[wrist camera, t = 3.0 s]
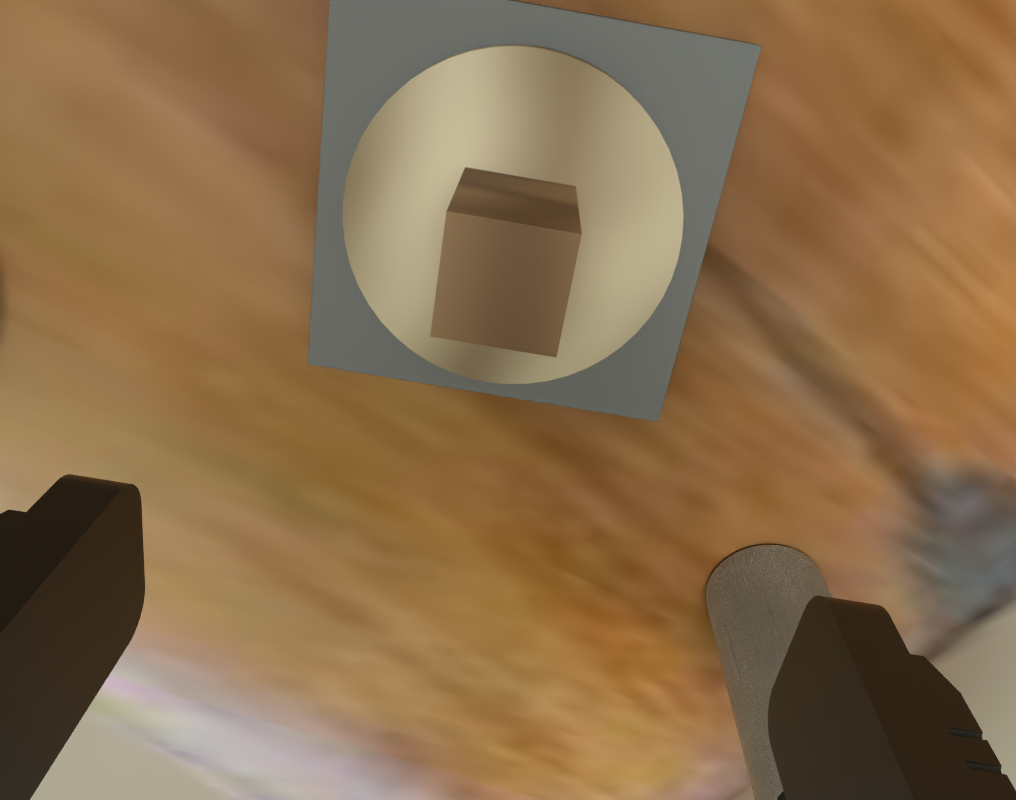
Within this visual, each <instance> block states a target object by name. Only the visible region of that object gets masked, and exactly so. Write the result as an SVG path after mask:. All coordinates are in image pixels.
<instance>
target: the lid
mask: <svg viewBox="0 0 1016 800" xmlns="http://www.w3.org/2000/svg"><path fill="white" fill-rule="evenodd" d="M683 217H684V215H683V202H682V192H681V187H680V182H679V178H678V173H677V170H676V167H675V164H674V161H673V159H672V156H671V153H670V150H669V148H668V146H667V144H666V142H665V141H664V139H663V137H662V135H661V133H660V131H659V129H658V128H657V126H656V125H655V123H654V122H653V121H652V119H651V118H650V116H649V115H648V114H647V112H646V111H645V109H644V108H643V107H642V105H641V104H640V103H639V102H638V101H637V100H636V99H635V98H634V96H633V95H632V94H631V93H630V92H629V91H628V90H627V89H626V88H625V87H624V86H623V85H621V84H620V83H619V82H617V81H616V80H615V79H614V78H612V77H611V76H610V75H609V74H607V73H606V72H604V71H603V70H601V69H599V68H597V67H596V66H594V65H592V64H591V63H589V62H587V61H585V60H583V59H580V58H578V57H575V56H573V55H570V54H568V53H565V52H562V51H558V50H554V49H550V48H546V47H542V46H533V45H524V44H505V45H492V46H486V47H481V48H475V49H471V50H468V51H465V52H462V53H459V54H456V55H453V56H450V57H448V58H446V59H444V60H442V61H440V62H438V63H436V64H434V65H432V66H430V67H428V68H427V69H426V70H424V71H423V72H421V73H420V74H418V75H417V76H415V77H414V78H412V79H411V80H410V81H408V82H407V83H406V84H405V85H404V86H403V87H401V88H400V89H399V90H398V91H397V92H396V93H395V94H394V95H393V96H392V97H391V98H389V99H388V100H387V102H386V103H385V104H384V105H383V106H382V108H381V109H380V110H379V111H378V113H377V114H376V115H375V116H374V117H373V119H372V120H371V122H370V124H369V125H368V127H367V129H366V130H365V132H364V133H363V135H362V137H361V139H360V141H359V143H358V146H357V148H356V150H355V152H354V155H353V157H352V160H351V163H350V167H349V170H348V174H347V177H346V182H345V189H344V196H343V232H344V240H345V247H346V251H347V254H348V258H349V262H350V266H351V269H352V271H353V274H354V276H355V279H356V281H357V284H358V286H359V288H360V290H361V292H362V293H363V295H364V297H365V299H366V301H367V302H368V304H369V306H370V307H371V308H372V310H373V311H374V313H375V314H376V315H377V317H378V318H379V319H380V321H381V322H382V323H383V324H384V325H385V326H386V327H387V328H388V330H389V331H390V332H391V333H392V334H393V335H394V336H395V337H396V338H397V339H398V340H400V341H401V342H402V343H403V344H404V345H406V346H407V347H408V348H409V349H410V350H412V351H413V352H415V353H416V354H418V355H419V356H421V357H422V358H424V359H426V360H427V361H429V362H431V363H433V364H435V365H437V366H439V367H441V368H443V369H445V370H447V371H450V372H452V373H455V374H458V375H461V376H464V377H467V378H471V379H475V380H480V381H484V382H491V383H501V384H529V383H537V382H544V381H550V380H554V379H557V378H561V377H565V376H568V375H571V374H574V373H576V372H579V371H581V370H584V369H586V368H588V367H590V366H592V365H594V364H596V363H598V362H599V361H601V360H603V359H605V358H606V357H608V356H609V355H611V354H612V353H613V352H615V351H616V350H618V349H619V348H620V347H622V346H623V345H624V344H625V343H626V342H627V341H628V340H629V339H631V338H632V337H633V336H634V335H635V334H636V333H637V332H638V331H639V330H640V328H641V327H642V326H643V325H644V324H645V323H646V321H647V320H648V319H649V318H650V317H651V315H652V314H653V312H654V311H655V309H656V308H657V306H658V304H659V303H660V301H661V300H662V298H663V296H664V294H665V292H666V290H667V288H668V286H669V284H670V282H671V279H672V276H673V273H674V270H675V267H676V264H677V261H678V258H679V252H680V247H681V242H682V234H683Z"/></svg>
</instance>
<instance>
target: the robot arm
mask: <svg viewBox="0 0 1016 800" xmlns="http://www.w3.org/2000/svg"><path fill="white" fill-rule="evenodd" d="M144 595H145V576H144V553H143V530H142V507H141V496H140V492H139V490H138V488H137V487H136V486H135V485H133V484H127V483H121V482H115V481H109V480H102V479H96V478H90V477H84V476H77V475H70V474H68V475H65V476H63V477H61V478H60V479H59V480H58V481H56V483H55V484H54V485H53V486H52V487H51V488H50V489H49V490H48V491H47V492H46V493H45V494H44V495H43V496H42V497H41V498H40V499H39V500H38V501H37V502H36V503H35V504H34V505H33V506H32V507H31V508H30V509H29V510H28V511H27V512H21V511H14V510H7V511H5V512H3V513H1V514H0V800H30V799H31V797H32V795H33V794H34V792H35V790H36V789H37V788H38V786H39V784H40V783H41V781H42V780H43V778H44V777H45V775H46V773H47V772H48V770H49V769H50V767H51V765H52V764H53V762H54V761H55V759H56V758H57V756H58V754H59V753H60V751H61V750H62V748H63V747H64V745H65V743H66V742H67V740H68V739H69V737H70V736H71V734H72V732H73V731H74V729H75V728H76V726H77V725H78V723H79V721H80V720H81V718H82V717H83V715H84V713H85V712H86V710H87V709H88V707H89V706H90V704H91V702H92V701H93V699H94V698H95V696H96V695H97V693H98V691H99V690H100V688H101V687H102V685H103V684H104V682H105V680H106V679H107V677H108V676H109V674H110V673H111V671H112V669H113V668H114V666H115V665H116V663H117V661H118V660H119V658H120V657H121V655H122V654H123V652H124V650H125V649H126V647H127V646H128V644H129V642H130V641H131V639H132V637H133V635H134V633H135V630H136V628H137V625H138V622H139V619H140V616H141V612H142V608H143V603H144ZM982 733H983V732H982V730H981V729H980V727H979V725H978V723H977V722H976V720H975V718H974V716H973V715H972V713H971V711H970V709H969V708H968V706H967V704H966V702H965V700H964V699H963V697H962V695H961V693H960V692H959V691H958V690H957V689H956V688H955V687H954V686H953V685H952V684H951V683H950V682H949V681H948V680H947V679H946V678H945V677H944V676H943V675H942V674H941V673H940V672H939V671H938V670H937V669H936V668H935V667H934V666H933V665H932V664H931V663H930V662H929V661H928V660H927V659H926V658H925V657H924V656H919V655H912V654H910V653H909V652H908V650H907V648H906V646H905V644H904V642H903V640H902V638H901V636H900V634H899V632H898V631H897V629H896V627H895V625H894V623H893V621H892V619H891V617H890V615H889V614H888V612H887V611H886V610H885V609H884V608H883V607H882V606H880V605H874V604H868V603H862V602H855V601H849V600H843V599H837V598H830V597H824V596H815V597H813V598H812V599H811V600H810V601H809V602H808V604H807V605H806V607H805V609H804V611H803V614H802V616H801V619H800V621H799V624H798V626H797V629H796V631H795V634H794V636H793V639H792V641H791V643H790V646H789V648H788V651H787V653H786V656H785V658H784V661H783V663H782V666H781V668H780V670H779V673H778V675H777V678H776V680H775V683H774V685H773V688H772V691H771V695H770V700H769V707H768V734H769V740H770V744H771V748H772V752H773V755H774V759H775V762H776V766H777V770H778V773H779V777H780V780H781V784H782V787H783V791H784V794H785V798H786V800H1016V791H1015V789H1014V787H1013V785H1012V784H1011V782H1010V780H1009V778H1008V776H1007V775H1005V774H1002V773H1001V764H1000V762H999V761H998V759H997V757H996V755H995V753H994V752H993V750H992V748H991V746H990V745H989V743H988V741H987V740H982Z"/></svg>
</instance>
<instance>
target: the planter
mask: <svg viewBox="0 0 1016 800" xmlns="http://www.w3.org/2000/svg"><path fill="white" fill-rule="evenodd" d="M815 596H824V597H830V598H832V595H831V593H830V591H829V589H828V587H827V584H826V582H825V580H824V578H823V576H822V574H821V573H820V571H819V569H818V567H817V566H816V565H815V563H814V562H813V561H812V560H811V559H810V558H809V557H808V556H806V555H805V554H803V553H801V552H800V551H798V550H795V549H793V548H789V547H786V546H780V545H759V546H753V547H750V548H746V549H743V550H741V551H738V552H736V553H735V554H733V555H731V556H730V557H728V558H727V559H725V560H724V561H723V562H722V563H721V564H720V565H719V566H718V567H717V568H716V569H715V570H714V572H713V573H712V575H711V576H710V578H709V581H708V583H707V587H706V603H707V609H708V614H709V618H710V622H711V626H712V630H713V634H714V638H715V642H716V646H717V650H718V654H719V658H720V662H721V666H722V670H723V674H724V678H725V682H726V686H727V690H728V694H729V698H730V702H731V706H732V710H733V714H734V718H735V722H736V726H737V730H738V734H739V738H740V742H741V746H742V750H743V754H744V758H745V762H746V766H747V770H748V774H749V778H750V782H751V786H752V790H753V794H754V798H755V800H786V798H785V794H784V791H783V787H782V784H781V780H780V777H779V773H778V770H777V766H776V762H775V759H774V755H773V752H772V748H771V744H770V740H769V734H768V707H769V700H770V695H771V691H772V688H773V685H774V683H775V680H776V678H777V675H778V673H779V670H780V668H781V666H782V663H783V661H784V658H785V656H786V653H787V651H788V648H789V646H790V643H791V641H792V639H793V636H794V634H795V631H796V629H797V626H798V624H799V621H800V619H801V616H802V614H803V611H804V609H805V607H806V605H807V604H808V602H809V601H810V600H811V599H812V598H813V597H815Z"/></svg>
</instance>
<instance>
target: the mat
mask: <svg viewBox="0 0 1016 800" xmlns="http://www.w3.org/2000/svg"><path fill="white" fill-rule="evenodd" d="M505 44H524V45H533V46H542V47H546V48H550V49H554V50H558V51H562V52H565V53H568V54H570V55H573V56H575V57H578V58H580V59H583V60H585V61H587V62H589V63H591V64H592V65H594V66H596V67H597V68H599V69H601V70H603V71H604V72H606V73H607V74H609V75H610V76H611V77H612V78H614V79H615V80H616V81H617V82H619V83H620V84H621V85H623V86H624V87H625V88H626V89H627V90H628V91H629V92H630V93H631V94H632V95H633V96H634V98H635V99H636V100H637V101H638V102H639V103H640V104H641V105H642V107H643V108H644V109H645V111H646V112H647V114H648V115H649V116H650V118H651V119H652V121H653V122H654V123H655V125H656V126H657V128H658V129H659V131H660V133H661V135H662V137H663V139H664V141H665V142H666V144H667V146H668V148H669V150H670V153H671V156H672V159H673V161H674V164H675V167H676V170H677V173H678V178H679V182H680V187H681V192H682V202H683V215H684V217H683V234H682V242H681V247H680V252H679V258H678V261H677V264H676V267H675V270H674V273H673V276H672V279H671V282H670V284H669V286H668V288H667V290H666V292H665V294H664V296H663V298H662V300H661V301H660V303H659V304H658V306H657V308H656V309H655V311H654V312H653V314H652V315H651V317H650V318H649V319H648V320H647V321H646V323H645V324H644V325H643V326H642V327H641V328H640V330H639V331H638V332H637V333H636V334H635V335H634V336H633V337H632V338H631V339H629V340H628V341H627V342H626V343H625V344H624V345H623V346H622V347H620V348H619V349H618V350H616V351H615V352H613V353H612V354H611V355H609V356H608V357H606V358H605V359H603V360H601V361H599V362H598V363H596V364H594V365H592V366H590V367H588V368H586V369H584V370H581V371H579V372H576V373H574V374H571V375H568V376H565V377H561V378H557V379H554V380H550V381H544V382H537V383H529V384H501V383H491V382H484V381H480V380H475V379H471V378H467V377H464V376H461V375H458V374H455V373H452V372H450V371H447V370H445V369H443V368H441V367H439V366H437V365H435V364H433V363H431V362H429V361H427V360H426V359H424V358H422V357H421V356H419V355H418V354H416V353H415V352H413V351H412V350H410V349H409V348H408V347H407V346H406V345H404V344H403V343H402V342H401V341H400V340H398V339H397V338H396V337H395V336H394V335H393V334H392V333H391V332H390V331H389V330H388V328H387V327H386V326H385V325H384V324H383V323H382V322H381V321H380V319H379V318H378V317H377V315H376V314H375V313H374V311H373V310H372V308H371V307H370V306H369V304H368V302H367V301H366V299H365V297H364V295H363V293H362V292H361V290H360V288H359V286H358V284H357V281H356V279H355V276H354V274H353V271H352V269H351V266H350V262H349V258H348V254H347V251H346V247H345V240H344V232H343V196H344V189H345V182H346V177H347V174H348V170H349V167H350V163H351V160H352V157H353V155H354V152H355V150H356V148H357V146H358V143H359V141H360V139H361V137H362V135H363V133H364V132H365V130H366V129H367V127H368V125H369V124H370V122H371V120H372V119H373V117H374V116H375V115H376V114H377V113H378V111H379V110H380V109H381V108H382V106H383V105H384V104H385V103H386V102H387V100H388V99H389V98H391V97H392V96H393V95H394V94H395V93H396V92H397V91H398V90H399V89H400V88H401V87H403V86H404V85H405V84H406V83H407V82H408V81H410V80H411V79H412V78H414V77H415V76H417V75H418V74H420V73H421V72H423V71H424V70H426V69H427V68H428V67H430V66H432V65H434V64H436V63H438V62H440V61H442V60H444V59H446V58H448V57H450V56H453V55H456V54H459V53H462V52H465V51H468V50H471V49H475V48H481V47H486V46H492V45H505ZM761 47H762V46H760V45H757V44H754V43H749V42H744V41H738V40H732V39H727V38H721V37H716V36H710V35H705V34H699V33H694V32H688V31H682V30H677V29H671V28H666V27H660V26H655V25H649V24H644V23H638V22H632V21H627V20H621V19H616V18H610V17H605V16H599V15H594V14H588V13H583V12H577V11H571V10H566V9H560V8H555V7H549V6H544V5H538V4H533V3H527V2H521V1H516V0H330V3H329V19H328V36H327V52H326V69H325V85H324V102H323V119H322V135H321V152H320V168H319V185H318V202H317V218H316V235H315V251H314V268H313V284H312V301H311V318H310V334H309V351H308V364H309V365H315V366H321V367H327V368H333V369H339V370H345V371H351V372H358V373H364V374H370V375H376V376H382V377H388V378H394V379H400V380H406V381H412V382H419V383H425V384H431V385H437V386H443V387H449V388H455V389H461V390H467V391H473V392H480V393H486V394H492V395H498V396H504V397H510V398H516V399H522V400H528V401H534V402H541V403H547V404H553V405H559V406H565V407H571V408H577V409H583V410H589V411H596V412H602V413H608V414H614V415H620V416H626V417H632V418H638V419H644V420H650V421H657V422H658V421H659V417H660V414H661V410H662V407H663V403H664V399H665V396H666V392H667V388H668V385H669V381H670V377H671V374H672V370H673V367H674V363H675V359H676V356H677V352H678V348H679V345H680V341H681V337H682V334H683V330H684V327H685V323H686V319H687V316H688V312H689V308H690V305H691V301H692V298H693V294H694V290H695V287H696V283H697V279H698V276H699V272H700V268H701V265H702V261H703V258H704V254H705V250H706V247H707V243H708V239H709V236H710V232H711V228H712V225H713V221H714V218H715V214H716V210H717V207H718V203H719V199H720V196H721V192H722V189H723V185H724V181H725V178H726V174H727V170H728V167H729V163H730V159H731V156H732V152H733V149H734V145H735V141H736V138H737V134H738V130H739V127H740V123H741V119H742V116H743V112H744V109H745V105H746V101H747V98H748V94H749V90H750V87H751V83H752V79H753V76H754V72H755V69H756V65H757V61H758V58H759V54H760V50H761Z"/></svg>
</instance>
